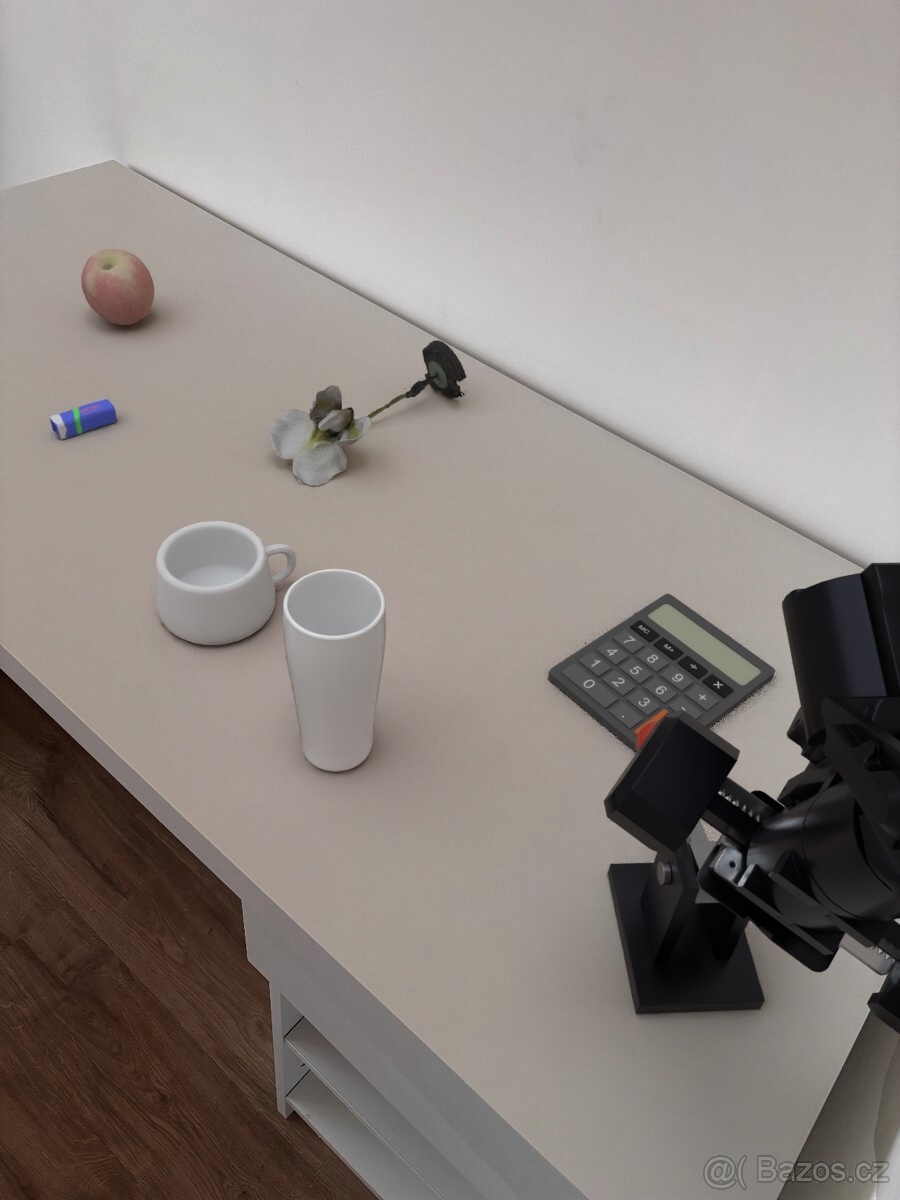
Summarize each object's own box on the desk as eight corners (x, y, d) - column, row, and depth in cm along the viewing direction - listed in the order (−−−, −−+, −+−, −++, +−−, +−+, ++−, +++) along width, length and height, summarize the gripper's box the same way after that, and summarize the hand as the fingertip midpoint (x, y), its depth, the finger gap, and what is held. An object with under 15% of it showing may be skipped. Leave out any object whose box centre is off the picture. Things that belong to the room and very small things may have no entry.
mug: (179, 664, 84) (170, 610, 80) (143, 588, 90) (133, 533, 86) (319, 620, 88) (318, 566, 84) (276, 550, 94) (273, 497, 90)
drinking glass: (395, 726, 81) (402, 582, 70) (361, 795, 76) (363, 651, 66) (313, 701, 82) (308, 556, 72) (275, 766, 77) (263, 621, 67)
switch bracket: (607, 872, 73) (633, 787, 66) (720, 869, 73) (757, 785, 67) (635, 1014, 65) (668, 935, 59) (760, 1009, 66) (807, 930, 59)
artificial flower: (478, 422, 113) (496, 358, 104) (304, 517, 104) (307, 456, 95) (427, 367, 116) (440, 300, 107) (253, 455, 107) (252, 390, 98)
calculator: (547, 669, 84) (668, 590, 92) (546, 677, 85) (666, 598, 93) (658, 761, 78) (778, 668, 86) (656, 768, 79) (774, 676, 87)
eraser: (52, 431, 105) (48, 414, 103) (110, 414, 108) (107, 397, 106) (59, 441, 104) (55, 424, 102) (118, 424, 106) (115, 407, 105)
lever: (628, 747, 76) (634, 712, 74) (672, 747, 76) (679, 711, 75) (684, 909, 63) (693, 871, 62) (736, 907, 64) (747, 869, 62)
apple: (77, 313, 121) (64, 247, 116) (140, 297, 125) (130, 232, 119) (106, 345, 117) (94, 277, 111) (170, 327, 120) (161, 261, 115)
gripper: (1144, 831, 45) (949, 881, 59) (771, 578, 48) (671, 684, 62) (1041, 1061, 41) (859, 1055, 55) (641, 770, 44) (567, 836, 58)
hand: (738, 896), depth 58 cm, fingers closed
